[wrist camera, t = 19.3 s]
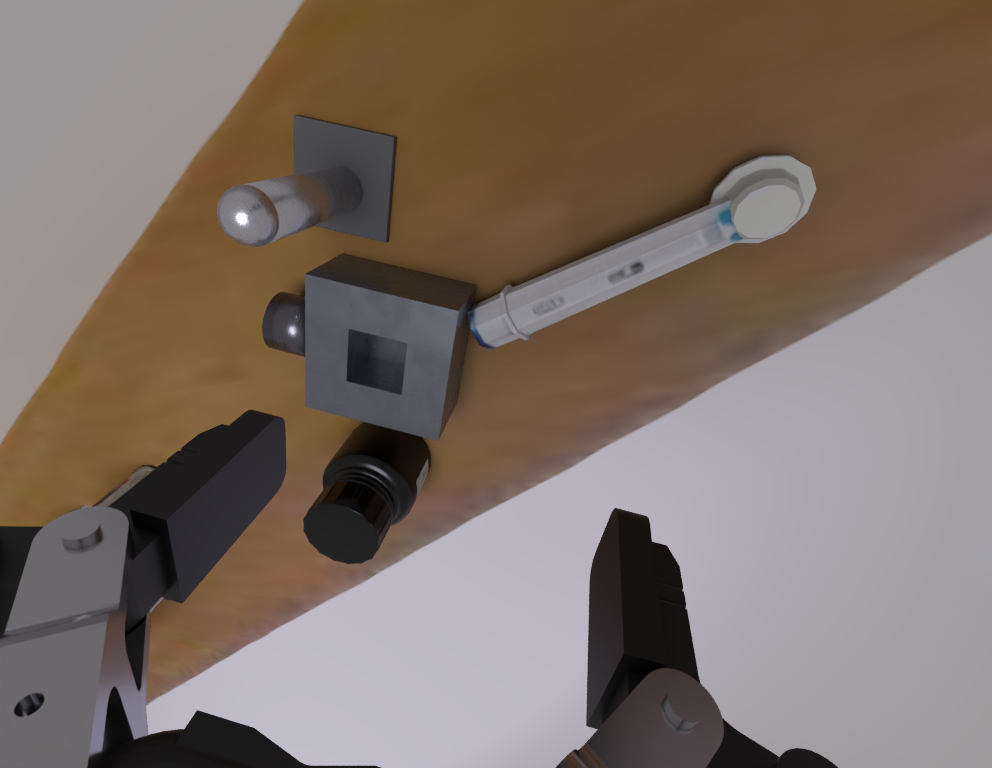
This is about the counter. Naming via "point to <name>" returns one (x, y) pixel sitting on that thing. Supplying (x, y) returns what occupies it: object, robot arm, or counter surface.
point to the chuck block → (377, 342)
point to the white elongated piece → (654, 250)
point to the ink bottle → (366, 492)
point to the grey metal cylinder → (287, 204)
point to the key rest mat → (362, 156)
